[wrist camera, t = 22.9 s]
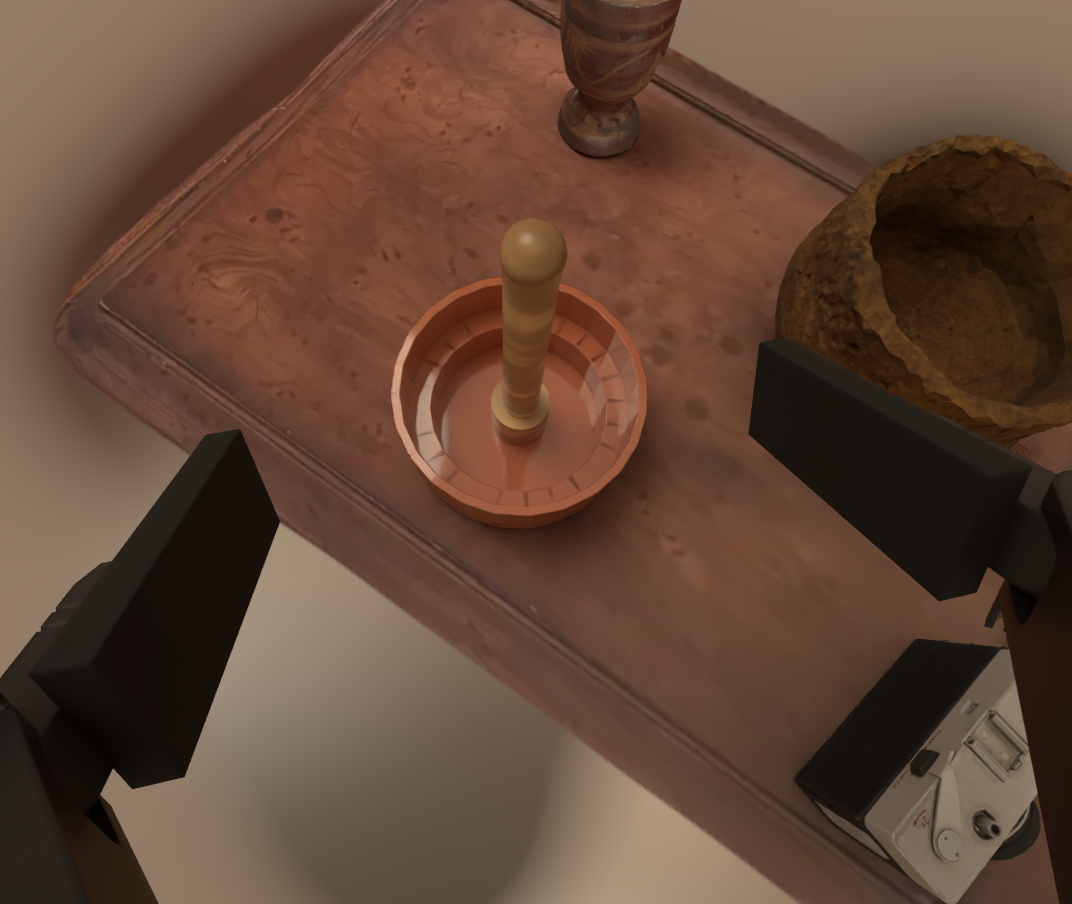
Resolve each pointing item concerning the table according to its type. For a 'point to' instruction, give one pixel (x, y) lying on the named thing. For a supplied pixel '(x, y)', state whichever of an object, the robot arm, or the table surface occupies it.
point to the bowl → (947, 285)
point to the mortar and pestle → (610, 68)
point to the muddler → (526, 327)
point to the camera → (933, 767)
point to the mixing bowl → (466, 418)
